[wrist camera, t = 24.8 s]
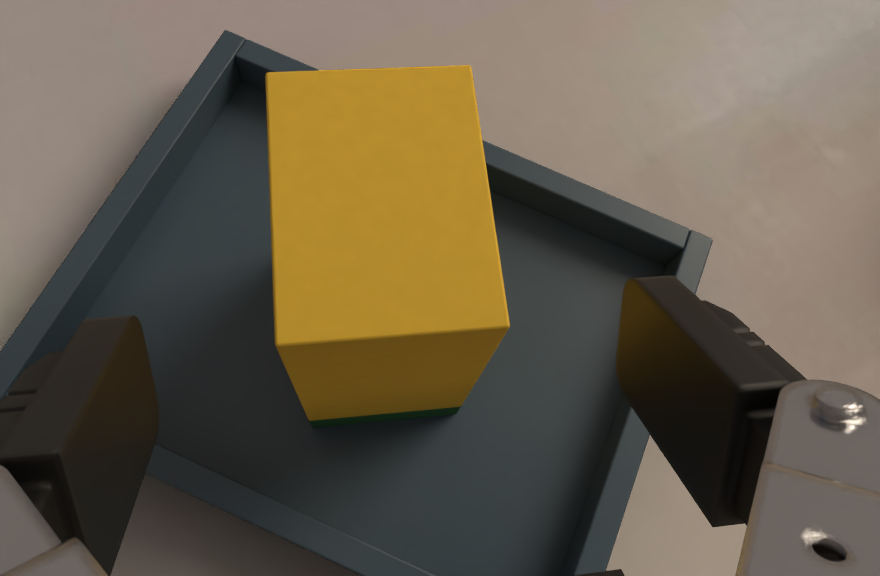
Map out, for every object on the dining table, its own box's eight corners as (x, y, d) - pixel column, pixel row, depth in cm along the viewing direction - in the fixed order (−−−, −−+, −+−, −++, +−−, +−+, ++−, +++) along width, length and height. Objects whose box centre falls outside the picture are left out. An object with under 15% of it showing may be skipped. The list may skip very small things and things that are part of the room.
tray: (7, 405, 22) (-29, 391, 20) (235, 68, 26) (224, 28, 24) (553, 664, 21) (572, 675, 19) (687, 263, 25) (714, 238, 23)
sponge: (311, 428, 22) (274, 346, 13) (301, 244, 24) (264, 71, 15) (457, 414, 22) (510, 327, 14) (436, 235, 24) (471, 63, 16)
